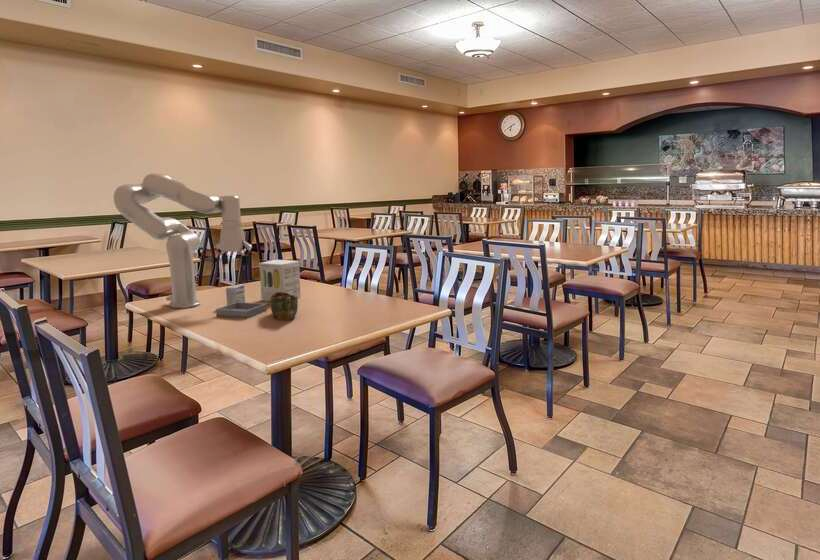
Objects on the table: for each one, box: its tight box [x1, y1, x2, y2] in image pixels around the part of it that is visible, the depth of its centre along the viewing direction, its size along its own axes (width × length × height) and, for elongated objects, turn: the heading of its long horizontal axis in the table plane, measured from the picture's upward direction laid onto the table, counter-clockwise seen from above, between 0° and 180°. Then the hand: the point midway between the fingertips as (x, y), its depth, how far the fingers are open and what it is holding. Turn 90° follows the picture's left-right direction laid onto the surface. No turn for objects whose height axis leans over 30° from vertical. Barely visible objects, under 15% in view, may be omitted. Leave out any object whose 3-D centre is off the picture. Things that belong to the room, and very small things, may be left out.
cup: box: [269, 292, 299, 321], centre depth 208 cm, size 13×20×10 cm, turn 177°
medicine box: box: [225, 284, 246, 306], centre depth 228 cm, size 8×4×9 cm, turn 168°
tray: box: [215, 302, 267, 320], centre depth 214 cm, size 14×14×3 cm
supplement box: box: [259, 259, 301, 302], centre depth 242 cm, size 13×13×18 cm
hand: (235, 264), depth 226 cm, fingers open, 9 cm apart
